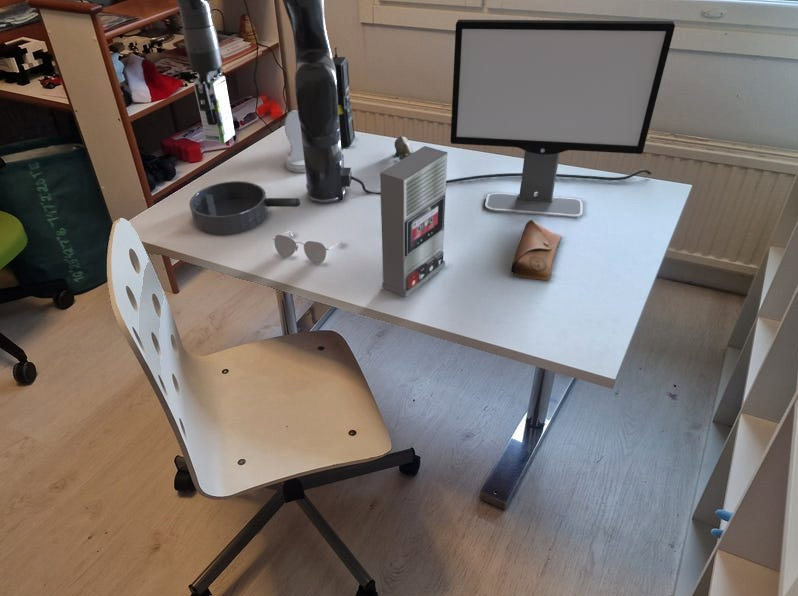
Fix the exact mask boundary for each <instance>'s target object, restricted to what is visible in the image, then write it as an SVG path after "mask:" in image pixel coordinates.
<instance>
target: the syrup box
mask: <svg viewBox="0 0 798 596" xmlns="http://www.w3.org/2000/svg"><path fill="white" fill-rule="evenodd" d="M215 78H216V80H215V81H211V82H210V90H208V93H209V95H211V94H214V96H215V98H214V99H213V101H214V109H215V113H216V119H217V124H216V125H209V124H208V122H207V118H206V113H205V110H201V109H200V105H199V101H198V97H197V93H196V89H195V84H199V83H200V82H199V77H198V78H196V79H195V80H194V81H193V88H194V92H195V97H196V101H197V106H198V111H199V114H200V119H201V126H202V129H203V134H204V140H205V142H214V143H220V144H225V143H226V142H228V141H229V140H231V139H232V138H233V137H234V136H235V135H236V132H235V126H234V120H233V114H232V109H231V104H230V103H231V102H230V98H229V93H228V86H227V81H226V76H225V75H223V76H219V77H215ZM202 102H203V100H202ZM210 102H211V100H210ZM206 104H207V101H206Z"/></svg>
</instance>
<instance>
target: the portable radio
mask: <svg viewBox="0 0 798 596" xmlns="http://www.w3.org/2000/svg"><path fill="white" fill-rule="evenodd" d="M337 49H338V47H334V52H335V53H334V56H332V58H333V61H334V65H335V69H336V83H337V98H338V111H339V123H340V138H341V148H350V147H351V145H352V144H353V142H354V140H355V138H356V134H355V128H354V127H355V125H354V117H353V106H352V102H351V100H350V89H351V88H350V86H351V85H350V75H349V74H350V73H349V60H348V58H347V56H338V53H337Z"/></svg>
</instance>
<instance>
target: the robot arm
mask: <svg viewBox="0 0 798 596" xmlns="http://www.w3.org/2000/svg"><path fill="white" fill-rule="evenodd" d="M175 2H176V4H177V7H178V11H179V17H180V20H181V25H182V31H183V32H182V33H183V40H184V45H185V49H186V55H187V58H188V63H189V67H190V70H191V71H192V72H195V73H197V74H198V78H199V82H200V83H199V84H195V88H194V90H195V89H196V92H195V94H196V93H197V97H198V101H199V105H200V109H201V110H205V113H206V118H207V122H208V124H209V125H216V124H217V119H216V113H215V109H214V101H213V99H214V98H215V96H214V94H211V95H209V93H208V90H210V82H211V81H215V80H216V78H215V77H219V76H224V75H223V69H222V68H223V59H222V54H221V49H220V44H219V38H218V33H217V30H216V27H215V26H216V25H215V21H214V17H213V10H212V5H211V2H210V0H175ZM282 3H283V7H284V9H285V12H286V14H287V17H288V20H289V23H290V26H291V31H292V35H293V43H294V54H295V73H294V93H295V100H296V108H297V112H298V117H299V121H300V127H301V135H302V144H303V153H304V162H305V171H306V172H305V179H306V190H307V198H308V200H309V201H311V202H312V203H316V204H332V203H336V202H340V201H341V202H343V201H344V199H345V195H346V191H347V188H350V187H351V184H352V181H355V182H357V183H358V184H360V185H361V188H362V191H363V192H364V193H366V194H370V195H381V192H376V191H375V192H374V191H371V190H368V189H367V188H366V185H365V183H364V181H362V180H361V179H359V178H357V177H356V176H353V172H352V167H345V158H344V154H343V153H342V147H341V138H340V123H339V111H338V98H337V83H336V69H335V65H334V61H333V58H332V57H333V55H332V49H331V47H330V42H329V38H328V33H327V29H326V28H327V27H326V18H325V17H326V16H325V0H282ZM197 97H196V98H197ZM202 100H203V102H202ZM210 100H211V102H210ZM206 101H207V104H206ZM641 173H646V174H648V175H653V173H652V171H650V170H649V169H646V168H642V169H641V168H640V169H638V170H637V171H635V172H632V173H630V174H628V175H624V176H615V177H614V176H613V177H612V176H600V175H599V176H598V175H585V174H583V175H582V174H564V173H556V178H569V179H590V180H598V181H599V180H600V181H624V180H628V179H630V178H632V177H634V176H637V175H639V174H641ZM501 177H522V172H511V173H508V172H507V173H490V174H481V175H471V176H466V177H458V178H453V179H446V184H451V183H456V182H463V181H470V180H478V179H487V178H501Z"/></svg>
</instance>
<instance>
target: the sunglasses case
mask: <svg viewBox="0 0 798 596" xmlns="http://www.w3.org/2000/svg"><path fill="white" fill-rule="evenodd" d="M562 238H563V236H562V235H559V234H557V233H555V232H553V231H552V230H550V229H547V228H545V227H543V226H541V225H539V224H538V223H536V222H535V221H534V220H533V219H530V220H528V221H527V222H526V224H525V225H524V227H523V230H522V233H521V236H520V238H519V241H518V243H517V247H516V250H515V253H514V256H513V259H512V263H511V266H510V272H511V273H512V275H513V276H514V277H516V278H517V277H519V278H523V279H528V280H536V281H549V280H551V279H552V274H553V266H554V262H555V258H556V254H557V251H558V248H559V244H560V242H561V241H562Z"/></svg>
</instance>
